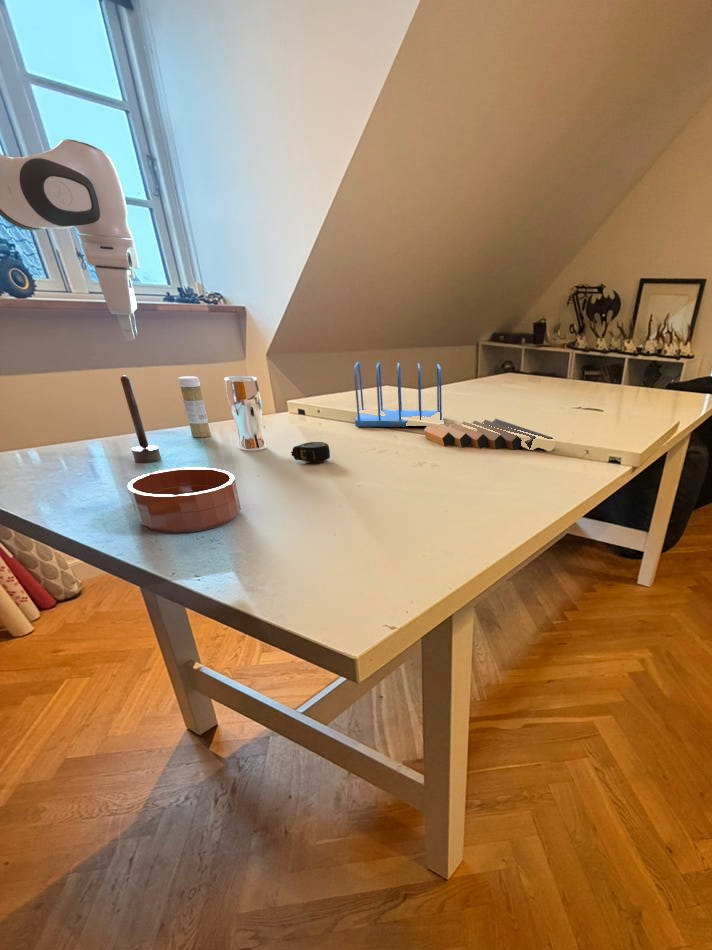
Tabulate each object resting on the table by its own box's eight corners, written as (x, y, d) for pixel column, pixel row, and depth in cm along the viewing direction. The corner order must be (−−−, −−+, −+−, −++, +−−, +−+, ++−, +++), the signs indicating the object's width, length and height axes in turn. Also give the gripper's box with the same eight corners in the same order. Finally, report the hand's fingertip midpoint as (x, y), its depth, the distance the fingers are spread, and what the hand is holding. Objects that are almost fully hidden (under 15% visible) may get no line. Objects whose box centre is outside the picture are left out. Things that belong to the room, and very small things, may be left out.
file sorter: (441, 417, 168) (441, 362, 160) (444, 429, 154) (444, 369, 145) (360, 415, 165) (355, 359, 157) (355, 427, 151) (350, 366, 142)
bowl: (139, 540, 80) (126, 501, 77) (139, 508, 91) (128, 472, 88) (247, 526, 87) (240, 489, 83) (235, 498, 98) (228, 464, 94)
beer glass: (250, 443, 131) (238, 375, 123) (274, 446, 130) (264, 377, 122) (230, 449, 126) (216, 378, 118) (255, 452, 124) (242, 381, 116)
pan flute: (555, 450, 138) (500, 430, 155) (557, 436, 136) (500, 418, 153) (474, 461, 126) (423, 438, 143) (474, 446, 124) (423, 424, 141)
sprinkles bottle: (206, 433, 138) (193, 375, 131) (214, 436, 136) (202, 377, 128) (188, 435, 135) (174, 376, 128) (196, 438, 133) (182, 378, 125)
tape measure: (312, 456, 124) (310, 439, 122) (337, 460, 122) (335, 443, 120) (292, 462, 119) (289, 445, 117) (317, 467, 116) (315, 449, 114)
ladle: (134, 463, 113) (108, 377, 104) (135, 457, 117) (109, 374, 108) (161, 461, 115) (138, 377, 106) (160, 456, 119) (138, 373, 110)
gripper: (98, 255, 110) (117, 332, 118) (85, 253, 95) (108, 342, 103) (133, 258, 113) (150, 333, 120) (126, 256, 98) (146, 343, 105)
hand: (131, 337), depth 111 cm, fingers open, 8 cm apart
